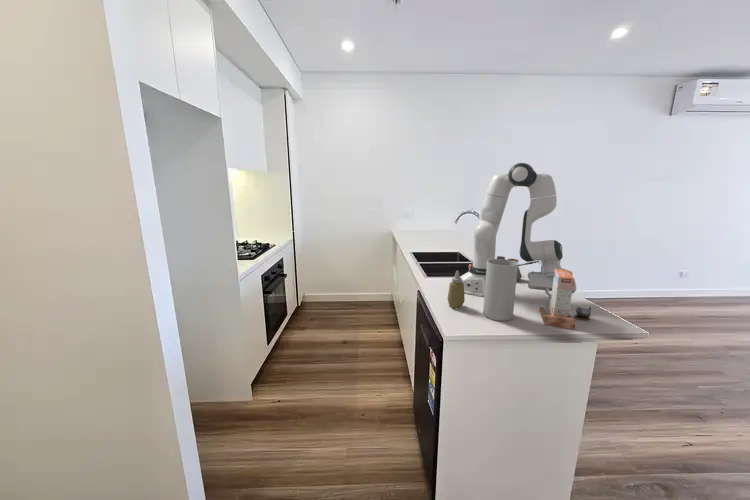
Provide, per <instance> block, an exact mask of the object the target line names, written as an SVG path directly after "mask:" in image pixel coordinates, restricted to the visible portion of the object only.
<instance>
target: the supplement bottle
mask: <svg viewBox="0 0 750 500" xmlns="http://www.w3.org/2000/svg"><path fill="white" fill-rule="evenodd" d="M496 259H506V256H501V255H498V256H496Z"/></svg>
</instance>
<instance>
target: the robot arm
mask: <svg viewBox="0 0 750 500" xmlns="http://www.w3.org/2000/svg"><path fill="white" fill-rule="evenodd" d="M515 187H526V188H527V189H528V191H529V199H530V203H529V207H528V209H526V210H525V211H524V214H523V218H522V229H521V230H522V231H521V240H520V246H519V257H520V259H522V260H523V261H525V262H526V263H528V262H535V261H540V265H541V266H540V271H529V272H528V273H527V278H528V282H527V283H528V285H527V287H528V289H530V290H537V291H538V290H539V291H544V293H545V294H546V296H547V299H550V300H551V294H552V293H550V292H552V286H553V279H554V271H555V269H561V270H566V269H565V268H563V267H562V266H561V260H562V259H563V246H562V243H560V242H559V241H558V240H556V239H547V240H540V241H538V240H537V241H532V240H531V235H532V226H533V224H534V223H535V222H536V221H537V220H541V218H544V217H546V216H548V215H550V214H551V213H552V212H553V211H554V210H555V209H556V207H557V201H558V200H557V191H556V186H555V182H554V179H553V177H552V176H551V175H550V174H548V173H537V172H536V171H535V170H534V168H533V167H532V165H531V164H529V163H525V162H517V163H516V164H514V165H512V166H511V167H510V169H509V171H508V173H497V174H495V175H494V176H492V178H491V180H490V182H489V185H488V187H487V190H486V192H485V196H484V198H483V199H484V200H483V203H482V207H481V211H480V213H479V214H480V215H479V218H478V221H477V225H476V227H475V228H474V229H473V257H472V258H473V259H472V264H471V263H470V264H469V265H467V266H468V271H467V272H466V273H464V274H462V275H460V278H462V283H463V284H464V294H466V295H472V296H476V297H484V294H485V282H486V269H487V260H489V259H496V246H497V245H496V244H497V234H498V231H499V229H500V225H501V221H502V219H503V216H504V212H505V209H506V206H507V203H508V199H509V195H510V193H511V191H512V189H513V188H515ZM569 272H570V273H571V275H572V276H573V271H571V270H569ZM576 291H577V283H576V280H575V278H574V284H573V290H572V294H574V293H576Z"/></svg>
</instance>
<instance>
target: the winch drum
mask: <svg viewBox="0 0 750 500" xmlns="http://www.w3.org/2000/svg"><path fill="white" fill-rule="evenodd" d="M591 313H592V306H591V305H589V306H588V307H581V306H577V307H576V309H575V313H574V315H573V316H574V319H576V320H579V321H587V322H591Z"/></svg>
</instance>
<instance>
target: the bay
mask: <svg viewBox="0 0 750 500" xmlns="http://www.w3.org/2000/svg"><path fill="white" fill-rule="evenodd" d="M539 314H540V315H541V316H540V317H541V318H542V321H543V323H544V326H551V327H555V328H556V327H557V328H563V329H564V328H565V329H572V330H576V325H577V319H576V318H575V317H574V318H573V317H572V316H571V314H570V313H569V316H568V318H566V317H559V316H551V315H550V314H547V312H546V309H545V307H544V306H539Z"/></svg>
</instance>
